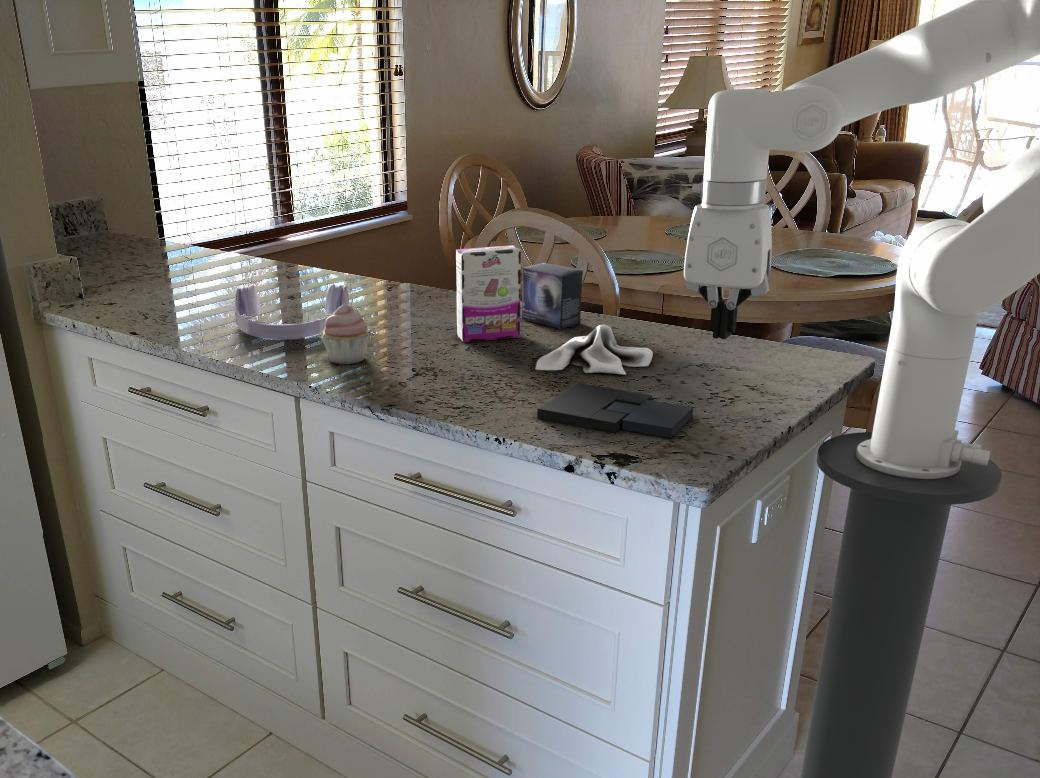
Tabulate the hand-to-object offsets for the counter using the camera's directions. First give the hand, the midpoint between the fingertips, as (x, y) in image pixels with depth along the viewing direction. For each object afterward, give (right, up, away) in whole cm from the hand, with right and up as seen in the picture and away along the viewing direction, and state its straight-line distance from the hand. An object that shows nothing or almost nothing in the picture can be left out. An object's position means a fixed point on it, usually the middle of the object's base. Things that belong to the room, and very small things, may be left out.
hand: (722, 336), depth 132 cm
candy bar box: (-27, +7, +53) cm, 60 cm away
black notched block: (-14, -9, +14) cm, 22 cm away
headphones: (-65, +11, +64) cm, 92 cm away
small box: (-13, +12, +63) cm, 65 cm away
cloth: (-10, +1, +38) cm, 39 cm away
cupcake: (-52, +2, +42) cm, 67 cm away
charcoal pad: (-8, -11, +10) cm, 17 cm away
